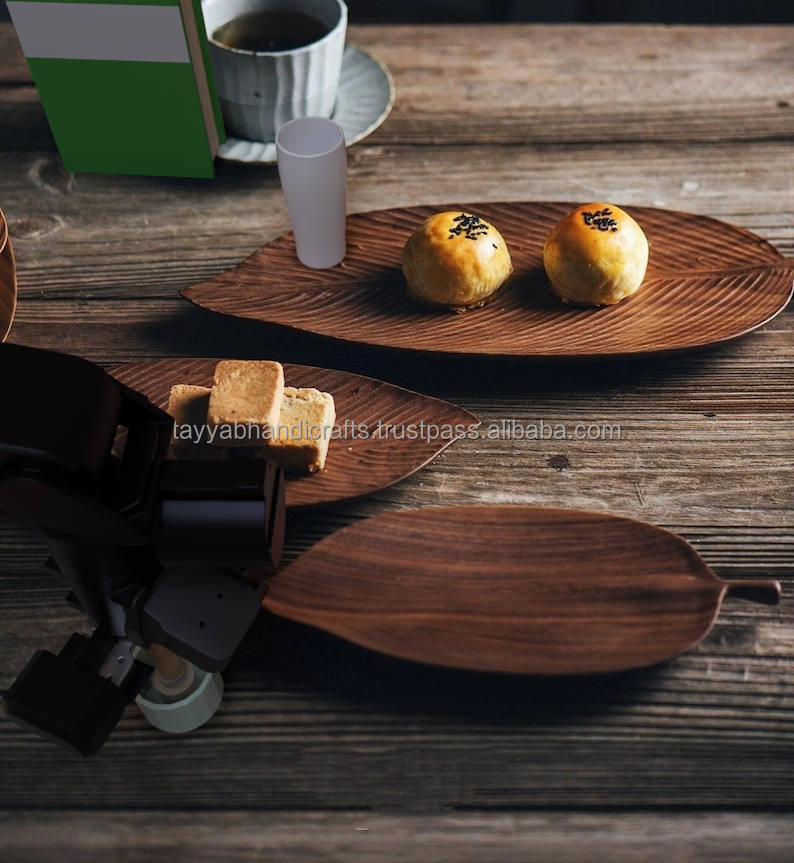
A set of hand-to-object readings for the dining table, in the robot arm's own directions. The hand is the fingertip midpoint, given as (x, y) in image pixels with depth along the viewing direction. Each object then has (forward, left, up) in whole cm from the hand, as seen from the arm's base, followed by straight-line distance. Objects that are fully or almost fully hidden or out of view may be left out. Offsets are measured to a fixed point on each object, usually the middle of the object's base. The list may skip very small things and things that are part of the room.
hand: (163, 656), depth 65 cm
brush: (0, 0, -6) cm, 6 cm away
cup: (0, 0, -7) cm, 7 cm away
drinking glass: (+25, +43, -7) cm, 50 cm away
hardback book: (+11, +67, -7) cm, 68 cm away
